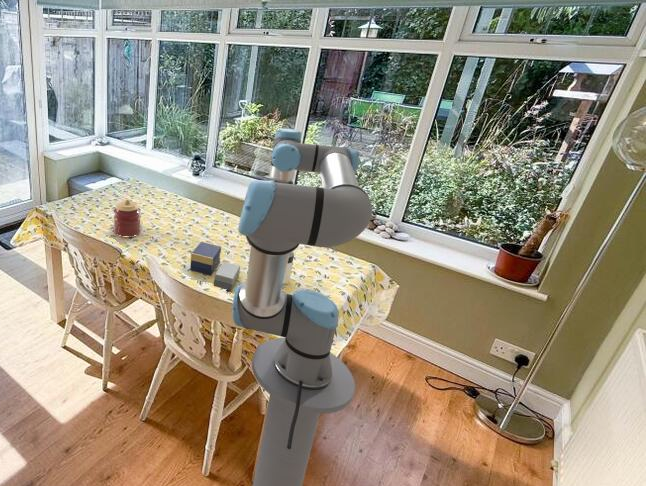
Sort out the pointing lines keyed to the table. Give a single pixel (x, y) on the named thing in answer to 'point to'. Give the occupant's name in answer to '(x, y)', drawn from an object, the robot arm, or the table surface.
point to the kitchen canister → (127, 218)
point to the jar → (288, 269)
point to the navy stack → (204, 267)
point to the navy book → (206, 253)
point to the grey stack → (227, 276)
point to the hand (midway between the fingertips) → (271, 240)
